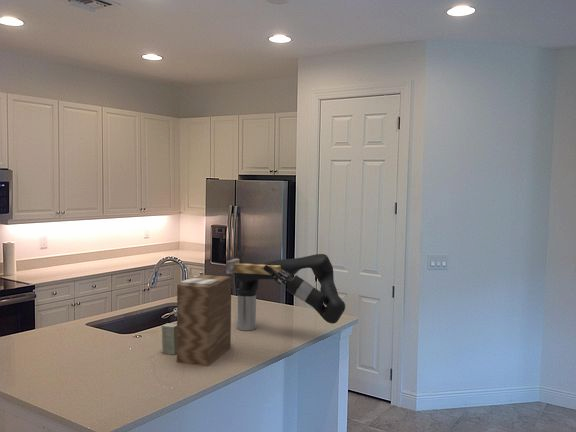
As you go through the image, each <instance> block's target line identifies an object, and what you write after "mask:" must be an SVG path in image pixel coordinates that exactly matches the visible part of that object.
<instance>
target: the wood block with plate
mask: <svg viewBox="0 0 576 432" xmlns="http://www.w3.org/2000/svg"><path fill="white" fill-rule="evenodd" d="M261 264H262V263H260V264H255V263H254V264H245V263H240V258H233V259H230V260H228V261H226V274H227V275H228V274H229V275H231V274H232V275H233V274H234V273H248V274H265V275H270V273H268V272H267V271H265V270H264V267H265V265H261ZM268 266H269V267H271V268H272V269H273V270H275V271H277V272H281V266H279V265H268ZM279 275H280V274H279Z"/></svg>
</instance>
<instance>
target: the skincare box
mask: <svg viewBox="0 0 576 432" xmlns="http://www.w3.org/2000/svg"><path fill="white" fill-rule="evenodd" d="M161 342H162V343H161V344H162V349H161V350H162V351H161V353H162V354H166V355H167V354H168V355H177V323H169V322H167V323H165V324H162V325H161Z"/></svg>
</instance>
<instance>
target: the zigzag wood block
mask: <svg viewBox="0 0 576 432" xmlns="http://www.w3.org/2000/svg"><path fill="white" fill-rule="evenodd" d="M176 286H177V293H176V295H177V296H176V297H177V298H176V299H177V300H176V301H177V303H176V310H177V311H176V319H177V320H176V324H177V353H176V362H177V363H182V364H189V365H198V366H204V367H205V366H206V367H209V366H210V365H211V364H213V363H214V362H215V361H216V360H217V359H219V358H220V357H221V356H222V355H224V354H225V353H226V352H227V351H228V350H230V349H231V346H232V345H231V340H232V339H231V337H232V336H231V334H232V333H231V332H232V331H231V329H232V276H227V275H226V276H224V275H223V276H222V275H210V274H201V275H198V276H196V277H189V278H187V279H184V280H181V281H180V283H178V284H177V285H176Z"/></svg>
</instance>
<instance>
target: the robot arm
mask: <svg viewBox="0 0 576 432" xmlns="http://www.w3.org/2000/svg"><path fill="white" fill-rule="evenodd" d="M244 264H255V263H254V262H251V261H250V262H245V263H244ZM260 264H261V265H265V267H264V270H265V271H267V272H268V273H270V275H265V274H248V273H233V274H234V277H235V279H236V280H237V281H238V282H240V283H241V285H240V287H239V288H238V289H237V320H236V321H237V330H240V331H243V332H244V331H254V330H255V329H256V327H257V324H256V323H257V292H258V291H257V290H258V287H259V280H274V281H275V282H276V283H277V284H278V285H281V284H282V285H285V286H287V287H286V288H285V289H286V290H285V291H287V292H288V293H290V294H292V295H293V296H294V297H295V298H298V299H299V300H300V301H303V302H305V304H308V306H310V307H312V309H314V310H315V311H316V313H317V314H319V316H321V318H322V319H323V320H324V321H325V322H327V323H329V324H331V325H332V324H337V322H339V320H340V318H341V316H342V315H343V313H344V312H345V310H346V303H345V302H344V300H343V299H342V298H341V297H340V296H339V292H338V289H337V287H336V284H335V281H334V280H335V279H334V267H333V264H332V263H331V261H330V258H329V257H328V255H327V254H325V253H317V254H311V255H307V256H301V257H296V258H289V259H287V258H285V259H277V260H276V259H275V260H270V261H267V262H264V263H260ZM268 265H279V266H281V272H277V271H275V270H273V269H272V268H271V267H269V266H268ZM303 269H311V271H312V273H313V275H314V277H315V278H316V279H317V281H318V282H319V284H320V287H319V288H320V290H319V289H317V288H315V287H314V286H313V285H311V284H310V283H309V282H307V281H306V280H304V279H303V278H301V277H300V276H298V275H296V274H297V273H298V272H299V271H300V270H303ZM279 274H280V275H279Z"/></svg>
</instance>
